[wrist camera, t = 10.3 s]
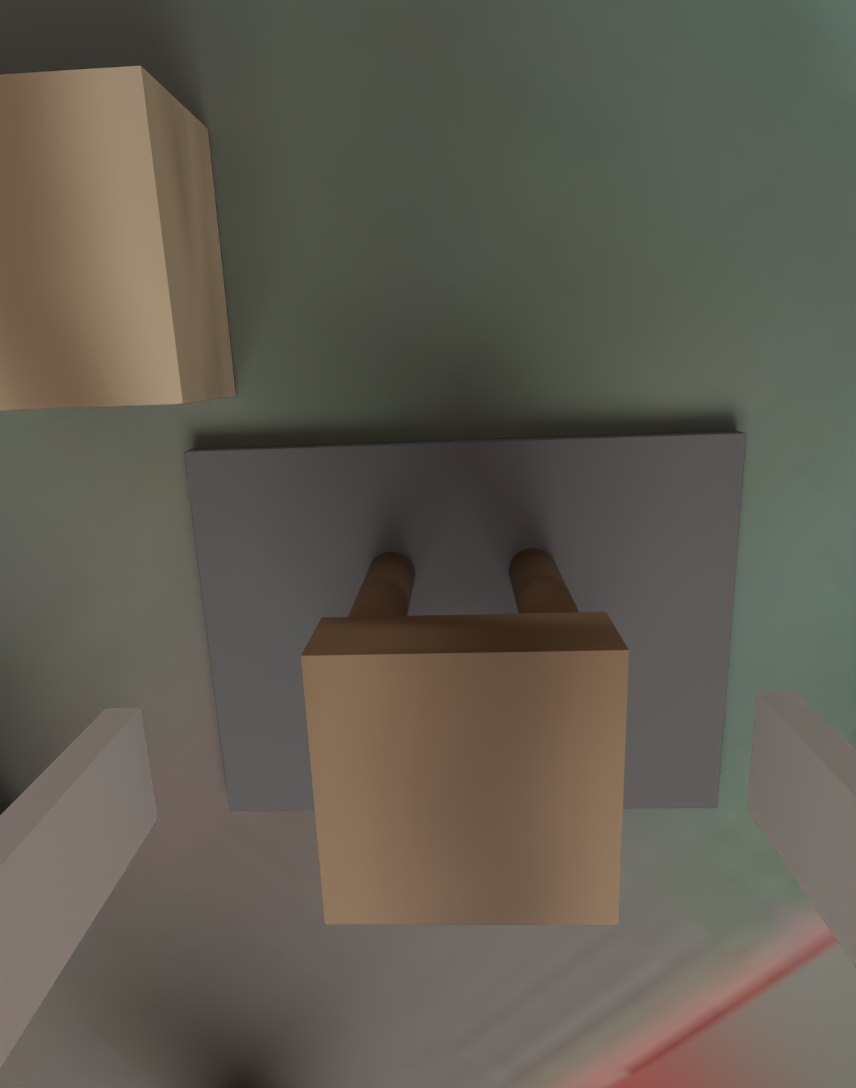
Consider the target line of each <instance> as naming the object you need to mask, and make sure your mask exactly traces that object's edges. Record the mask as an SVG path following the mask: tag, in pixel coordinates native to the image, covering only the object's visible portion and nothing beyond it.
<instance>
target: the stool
mask: <svg viewBox="0 0 856 1088" xmlns="http://www.w3.org/2000/svg"><path fill="white" fill-rule="evenodd" d="M509 576H510V580H511V584H512V588H513V592H514V596H515V601H516V605H517V609H518V614H469V615H420V616H407V615H408V610H409V605H410V600H411V595H412V590H413V585H414V581H415V569H414V566H413V564H412V562H411V561H410V560H409V559H408V558H407V557H406V556H404V555H403V554H401V553H398V552H385V553H382V554H380V555H379V556H377V557H376V558H375V559H374V560H373V562H372V563H371V565H370V568H369V570H368V572H367V574H366V577H365V579H364V581H363V583H362V586H361V588H360V590H359V593H358V595H357V597H356V599H355V602H354V604H353V606H352V608H351V611H350V613H349V615H348V617H322V618H321V620H320V621H319V623H318V625H317V627H316V629H315V631H314V632H313V634H312V636H311V638H310V640H309V642H308V644H307V645H306V647H305V649H304V651H303V653H302V655H301V663H302V674H303V685H304V696H305V707H306V718H307V730H308V741H309V752H310V763H311V774H312V785H313V796H314V807H315V818H316V829H317V840H318V851H319V862H320V873H321V884H322V895H323V906H324V917H325V924H422V925H618V922H619V896H620V870H621V844H622V818H623V792H624V766H625V740H626V714H627V688H628V662H629V649H628V648H627V646H626V644H625V643H624V641H623V639H622V638H621V636H620V634H619V633H618V631H617V629H616V628H615V626H614V624H613V623H612V621H611V619H610V618H609V616H608V614H607V613H606V612H579V610H578V608H577V606H576V604H575V602H574V600H573V598H572V596H571V594H570V592H569V590H568V588H567V586H566V584H565V582H564V580H563V578H562V576H561V574H560V572H559V570H558V568H557V566H556V564H555V562H554V560H553V558H552V557H551V556H550V554H548V553H547V552H546V551H544V550H541V549H537V548H529V549H525V550H523V551H521V552H519V553H518V554H517V555H516V556H515V557H514V558H513V559H512V561H511V563H510V567H509Z"/></svg>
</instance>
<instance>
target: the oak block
mask: <svg viewBox="0 0 856 1088" xmlns="http://www.w3.org/2000/svg"><path fill="white" fill-rule="evenodd" d="M235 396H236V392H235V382H234V373H233V363H232V354H231V344H230V335H229V325H228V316H227V306H226V297H225V287H224V278H223V268H222V259H221V249H220V240H219V230H218V221H217V211H216V202H215V192H214V183H213V173H212V164H211V154H210V145H209V135H208V129H207V128H206V127H205V126H204V125H203V124H202V123H201V122H200V121H199V120H198V119H197V118H196V117H195V116H194V115H193V114H192V113H190V112H189V111H188V110H187V109H186V108H185V107H184V106H183V105H182V104H181V103H180V102H179V101H178V100H177V99H176V98H175V97H174V96H172V95H171V94H170V93H169V92H168V91H167V90H166V89H165V88H164V87H163V86H162V85H161V84H160V83H159V82H158V81H157V80H156V79H154V78H153V77H152V76H151V75H150V74H149V73H148V72H147V71H146V70H145V69H144V68H143V67H142V66H127V67H111V68H95V69H79V70H63V71H47V72H31V73H15V74H0V410H26V409H54V408H81V407H108V406H136V405H163V404H185V403H192V402H199V401H206V400H214V399H221V398H228V397H235Z"/></svg>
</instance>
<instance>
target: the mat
mask: <svg viewBox="0 0 856 1088" xmlns="http://www.w3.org/2000/svg"><path fill="white" fill-rule="evenodd" d="M745 445H746V433H743V432H739V431H731V432H701V433H671V434H641V435H610V436H580V437H550V438H520V439H490V440H460V441H430V442H400V443H369V444H339V445H309V446H279V447H249V448H219V449H192V450H189V451H185V452H184V453H185V461H186V469H187V477H188V485H189V493H190V501H191V509H192V517H193V525H194V533H195V540H196V548H197V556H198V564H199V572H200V580H201V588H202V596H203V604H204V612H205V620H206V628H207V636H208V643H209V651H210V659H211V667H212V675H213V683H214V691H215V699H216V707H217V715H218V723H219V731H220V739H221V746H222V754H223V762H224V770H225V778H226V786H227V794H228V802H229V810H230V811H282V810H315V807H314V796H313V785H312V774H311V763H310V752H309V741H308V730H307V718H306V707H305V696H304V685H303V674H302V663H301V655H302V653H303V651H304V649H305V647H306V645H307V644H308V642H309V640H310V638H311V636H312V634H313V632H314V631H315V629H316V627H317V625H318V623H319V621H320V620H321V618H322V617H348V615H349V613H350V611H351V608H352V606H353V604H354V602H355V599H356V597H357V595H358V593H359V590H360V588H361V586H362V583H363V581H364V579H365V577H366V574H367V572H368V570H369V568H370V565H371V563H372V562H373V560H374V559H375V558H376V557H377V556H379V555H380V554H382V553H385V552H398V553H401V554H403V555H404V556H406V557H407V558H408V559H409V560H410V561H411V562H412V564H413V566H414V569H415V581H414V585H413V590H412V595H411V600H410V605H409V610H408V615H407V616H420V615H469V614H518V609H517V605H516V601H515V596H514V592H513V588H512V584H511V580H510V576H509V567H510V563H511V561H512V559H513V558H514V557H515V556H516V555H517V554H518V553H519V552H521V551H523V550H525V549H529V548H537V549H541V550H544V551H546V552H547V553H548V554H550V556H551V557H552V558H553V560H554V562H555V564H556V566H557V568H558V570H559V572H560V574H561V576H562V578H563V580H564V582H565V584H566V586H567V588H568V590H569V592H570V594H571V596H572V598H573V600H574V602H575V604H576V606H577V608H578V610H579V612H606V613H607V614H608V616H609V618H610V619H611V621H612V623H613V624H614V626H615V628H616V629H617V631H618V633H619V634H620V636H621V638H622V639H623V641H624V643H625V644H626V646H627V648H628V649H629V662H628V688H627V714H626V740H625V766H624V792H623V809H625V808H717V804H718V792H719V779H720V766H721V753H722V740H723V727H724V715H725V702H726V689H727V676H728V663H729V651H730V638H731V625H732V612H733V599H734V586H735V574H736V561H737V548H738V535H739V522H740V510H741V497H742V484H743V471H744V458H745Z"/></svg>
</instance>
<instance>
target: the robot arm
mask: <svg viewBox="0 0 856 1088" xmlns="http://www.w3.org/2000/svg"><path fill="white" fill-rule="evenodd" d="M747 809H748V810H749V812H750V813H751V815H752V816H753V818H754V819H755V821H756V822H757V824H758V825H759V827H760V828H761V829H762V831H763V832H764V834H765V835H766V837H767V838H768V840H769V841H770V843H771V844H772V846H773V847H774V848H775V850H776V851H777V853H778V854H779V856H780V857H781V859H782V860H783V862H784V863H785V865H786V866H787V868H788V869H789V870H790V872H791V873H792V875H793V876H794V878H795V879H796V881H797V882H798V884H799V885H800V887H801V888H802V890H803V891H804V892H805V894H806V895H807V897H808V898H809V900H810V901H811V903H812V904H813V906H814V907H815V909H816V910H817V911H818V913H819V914H820V916H821V917H822V919H823V920H824V922H825V923H826V925H827V926H828V928H829V929H830V931H831V932H832V933H833V935H834V936H835V938H836V939H837V941H838V942H839V944H840V945H841V947H842V948H843V949H844V951H845V952H846V954H847V955H848V957H849V958H850V960H851V961H852V963H853V964H854V966H855V967H856V750H855V749H854V748H853V747H852V746H851V745H850V744H849V743H848V742H847V741H845V740H844V739H843V738H842V737H841V736H840V735H839V734H838V733H837V732H836V731H835V730H834V729H833V728H832V727H831V726H829V725H828V724H827V723H826V722H825V721H824V720H823V719H822V718H821V717H820V716H819V715H818V714H817V713H816V712H814V711H813V710H812V709H811V708H810V707H809V706H808V705H807V704H806V703H805V702H804V701H803V700H802V699H801V698H800V697H798V696H797V695H796V694H795V693H794V692H793V693H757V700H756V711H755V722H754V733H753V744H752V754H751V765H750V776H749V787H748V798H747ZM157 819H158V815H157V809H156V803H155V796H154V790H153V784H152V777H151V771H150V765H149V758H148V752H147V746H146V739H145V733H144V727H143V720H142V714H141V708H106V709H105V710H104V711H103V712H102V713H101V714H100V715H99V716H98V717H97V718H96V719H95V720H94V721H93V722H92V723H91V724H90V725H89V726H88V727H87V728H86V729H85V730H84V731H83V732H82V733H81V734H80V735H79V736H78V737H77V738H76V739H75V740H74V741H73V742H72V743H71V744H70V745H69V746H68V747H67V748H66V749H65V750H64V751H63V752H62V753H61V754H60V755H59V756H58V757H57V758H56V759H55V760H54V761H53V762H52V763H51V764H50V765H49V766H48V767H47V768H46V769H45V771H44V772H43V773H42V774H41V775H40V776H39V777H38V778H37V779H36V780H35V781H34V782H33V783H32V784H31V785H30V786H29V787H28V788H27V789H26V790H25V791H24V792H23V793H22V794H21V795H20V796H19V797H18V798H17V799H16V800H15V801H14V802H13V803H12V804H11V805H10V806H9V807H8V808H7V809H6V810H5V811H4V812H3V813H2V814H1V815H0V1068H1V1066H2V1065H3V1063H4V1061H5V1060H6V1058H7V1057H8V1055H9V1054H10V1052H11V1050H12V1049H13V1047H14V1046H15V1044H16V1042H17V1041H18V1039H19V1038H20V1036H21V1035H22V1033H23V1031H24V1030H25V1028H26V1027H27V1025H28V1023H29V1022H30V1020H31V1019H32V1017H33V1016H34V1014H35V1012H36V1011H37V1009H38V1008H39V1006H40V1004H41V1003H42V1001H43V1000H44V998H45V996H46V995H47V993H48V992H49V990H50V989H51V987H52V985H53V984H54V982H55V981H56V979H57V977H58V976H59V974H60V973H61V971H62V970H63V968H64V966H65V965H66V963H67V962H68V960H69V958H70V957H71V955H72V954H73V952H74V951H75V949H76V947H77V946H78V944H79V943H80V941H81V939H82V938H83V936H84V935H85V933H86V932H87V930H88V928H89V927H90V925H91V924H92V922H93V920H94V919H95V917H96V916H97V914H98V913H99V911H100V909H101V908H102V906H103V905H104V903H105V901H106V900H107V898H108V897H109V895H110V894H111V892H112V890H113V889H114V887H115V886H116V884H117V882H118V881H119V879H120V878H121V876H122V875H123V873H124V871H125V870H126V868H127V867H128V865H129V863H130V862H131V860H132V859H133V857H134V855H135V854H136V852H137V851H138V849H139V848H140V846H141V844H142V843H143V841H144V840H145V838H146V836H147V835H148V833H149V832H150V830H151V829H152V827H153V825H154V824H155V822H156V821H157Z"/></svg>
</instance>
